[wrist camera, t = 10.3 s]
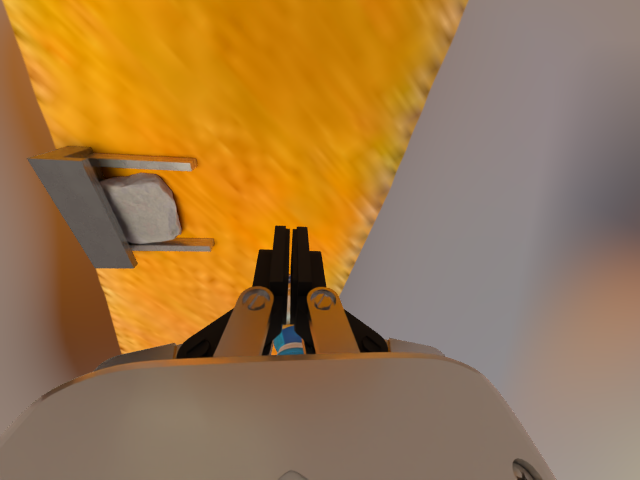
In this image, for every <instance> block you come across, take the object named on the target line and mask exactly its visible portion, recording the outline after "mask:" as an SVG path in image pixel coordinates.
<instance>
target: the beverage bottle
mask: <svg viewBox="0 0 640 480" xmlns="http://www.w3.org/2000/svg"><path fill="white" fill-rule="evenodd" d="M290 279H291V275H289V283H288V303H287V322H286V325H282V332H281V333H280V334H279V335H278V336H277V337H276V338H275V339H274V346H275V349H276V351H277V352H278V353H277V355H298V354H304V351H303V346H302V338H301V337H300V336H299V335H298V334H296V333H295V331H294V325H290Z"/></svg>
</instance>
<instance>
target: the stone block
mask: <svg viewBox="0 0 640 480" xmlns="http://www.w3.org/2000/svg"><path fill="white" fill-rule="evenodd" d="M99 183H100V185H101V187H102V189H103V192H104V194H105V196H106V198H107V200H108V202H109V204H110V206H111V208H112V210H113V213H114V215H115V217H116V219H117V221H118V223H119V225H120V227H121V229H122V230H123V234H124V236H125V238H126V240H127V241H129V242H131V243H138V244H142V243H152V242H162V241H168V240H172V239H174V238H176V237H177V235H179V234H181V231H182V229H181V226H180V222H179V217H178V213H177V208H176V205H175V201H174V199H173V193H172V191H171V190H170V189H169V187H168V186H167V185H166V184H165V182H164V181H163V180H162V179H161V178H160V177H159V176H158V175H156V174H147V173H139V174H134V175H131V176H126V177H124V176H122V177H112V178H108V179H105V180H103V181H100V182H99Z"/></svg>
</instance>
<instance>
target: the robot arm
mask: <svg viewBox="0 0 640 480" xmlns="http://www.w3.org/2000/svg"><path fill="white" fill-rule="evenodd" d="M289 240H290V229H286V226H275V234H274V243H273V250H261V249H260V250H259V254H258V259H257V265H256V270H255V275H254V281H253V286H252V287H250V288H248V289H246V290H245V291H243V292H242V293H241V295H240V296H239V298H238V300H237V302H236V305H235V307H234V308H233V309H232V310H230V311H229V312H227V313H226V314H224V315H223V316H221V317H220V318H218V319H217V320H215V321H214V322H213V323H211V324H210V325H208V326H207V327H205V328H204V329H202V330H201V331H199V332H198V333H196V334H195V335H193V336H192V337H190V338H189V339H187V340H186V341H185V342H184V343H183V344H180V345H176V344H175V343H172V344H168V345H163V346H159V347H154V348H150V349H145V350H141V351H136V352H132V353H127V354H122V355H118V356H115V357H112V358H110V359H108V360H106V361H105V362H103V363H102V364H101V365H99V366H98V367H97V368H96V369H95V370H94V372H91V373H88V374H86V375H83V376H80V377H78V378H75V379H73V380H71V381H68V382H66V383H64V384H62V385H60V386H58V387H56V388H54V389H52V390H51V391H49V392H47V393H46V394H44V395H42V396H41V397H40V398H39V399H38V400H36V401H35V402H33V403H32V404H31V405H30V406H29V407H28V408H27V409H26V410H25V411H24V412H22V413H21V414H20V415H19V416H18V417H17V418H16V419H15V421H14V422H12V424H11V425H10V426H9V427H8V428H7V429H6V430H5V431H4V432H3V433H2V434H1V436H0V480H556V478H555V476H554V475H553V473H552V472H551V470H550V468H549V467H548V465H547V463H546V462H545V460H544V458H543V457H542V455H541V454H540V452H539V451H538V449H537V448H536V446H535V445H534V443H533V441H532V440H531V438H530V437H529V435H528V433H527V432H526V430H525V429H524V427H523V426H522V424H521V423H520V421H519V420H518V418H517V417H516V416H515V414H514V412H513V411H512V409H511V408H510V407H509V405H508V404H507V402H506V401H505V400H504V398H503V397H502V396H501V394H500V393H499V392H498V390H497V389H496V388H495V387H494V385H492V383H491V382H490V381H489V380H488V379H487V378H486V377H485V376H484V375H483V374H481V373H480V372H479V371H477V370H476V369H474V368H472V367H470V366H468V365H466V364H464V363H462V362H459V361H456V360H454V359H451V358H448V357H445V355H444V354H442V352H441V351H439V350H438V349H436V348H434V347H431V346H426V345H421V344H416V343H412V342H407V341H401V340H397V339H392V338H389V340H385V339H383V338H382V337H381V336H380V335H379V334H378V333H376V332H375V331H374V330H372V329H371V328H369V327H368V326H366V325H365V324H364V323H363V322H361V321H360V320H358V319H357V318H356V317H354V316H353V315H351V314H350V313H349V312H347V311H346V310H345V309H343V307H342V304H341V301H340V298H339V296H338V295H337V293H336V292H335V291H333V290H332V289H330V288H326V282H325V276H324V269H323V262H322V255H321V252H320V251H309V242H308V230H307V227H297V229H293V237H292V254H291V279H290V325H294V331H295V333H296V334H298V335H299V336H300V337H301V338H302V346H303V351H304V354H298V355H271V352H272V348H273V343H274V339H275V338H276V337H277V336H278V335H279V334H280V333H281V332H282V325H286V322H287V303H288V283H289Z"/></svg>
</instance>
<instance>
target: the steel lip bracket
mask: <svg viewBox="0 0 640 480" xmlns="http://www.w3.org/2000/svg"><path fill="white" fill-rule="evenodd" d="M27 159H28V161H29V162H30V164H31V166H32V167H33V169H34V171H35V172H36V174H37V175H38V177H39V179H40V180H41V182H42V184H43V185H44V187H45V188H46V190H47V192H48V193H49V195H50V196H51V198H52V200H53V201H54V203H55V204H56V206H57V208H58V209H59V211H60V213H61V214H62V216H63V217H64V219H65V221H66V222H67V224H68V225H69V227H70V229H71V230H72V232H73V233H74V235H75V237H76V238H77V240H78V242H79V243H80V245H81V246H82V248H83V250H84V251H85V253H86V254H87V256H88V258H89V259H90V261H91V262H92V264H93V266H94V267H95V268H135V266H136V265H137V264H138V263H137V261H136V259H135V257H134V255H133V252H132V251H211V250H212V248H213V246H214V244H215V243H214V239H208V238H174V239H172V240H168V241H162V242H152V243H142V244H138V243H131V242H129V241H127V240H126V238H125V236H124V234H123V230H122V229H121V227H120V225H119V223H118V221H117V219H116V217H115V215H114V213H113V210H112V208H111V206H110V204H109V202H108V200H107V198H106V196H105V194H104V192H103V189H102V187H101V185H100V183H99V182H100V181H103V180H105V177H104V174H103V172H102V170H101V168H100V167H115V168H136V169H157V170H178V171H193V170H194V169H195V168H196V167H197V161H196V158H180V157H161V156H143V155H124V154H105V153H94V152H93V150H92V148H91V147H77V146H67V147H63V148H60V149H57V150H53V151H50V152H47V153H43V154H40V155H36V156H33V157H30V158H27Z"/></svg>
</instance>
